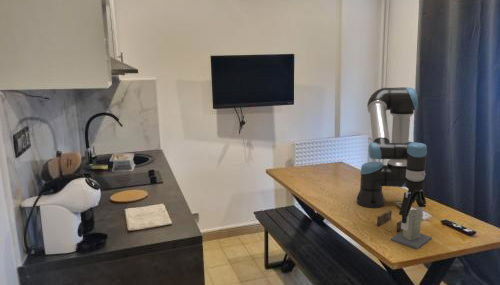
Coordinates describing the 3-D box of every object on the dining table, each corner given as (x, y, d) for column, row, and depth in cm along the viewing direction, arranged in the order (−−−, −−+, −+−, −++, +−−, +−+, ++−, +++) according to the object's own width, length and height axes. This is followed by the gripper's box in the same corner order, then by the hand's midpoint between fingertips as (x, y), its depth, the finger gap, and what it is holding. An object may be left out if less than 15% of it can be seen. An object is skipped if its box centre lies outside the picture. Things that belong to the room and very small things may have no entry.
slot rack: (389, 218, 192) (389, 210, 191) (410, 225, 184) (411, 216, 183) (376, 225, 185) (377, 216, 184) (398, 232, 176) (398, 223, 176)
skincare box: (412, 234, 172) (414, 208, 170) (420, 238, 168) (422, 212, 166) (401, 236, 170) (403, 211, 167) (409, 240, 166) (411, 214, 163)
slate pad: (405, 230, 178) (405, 228, 178) (431, 239, 169) (431, 237, 169) (390, 240, 169) (390, 238, 169) (417, 249, 160) (417, 247, 160)
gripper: (409, 187, 153) (406, 236, 157) (436, 174, 169) (432, 219, 173) (392, 183, 158) (389, 230, 163) (419, 171, 174) (416, 214, 179)
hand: (411, 224), depth 168 cm, fingers open, 13 cm apart
